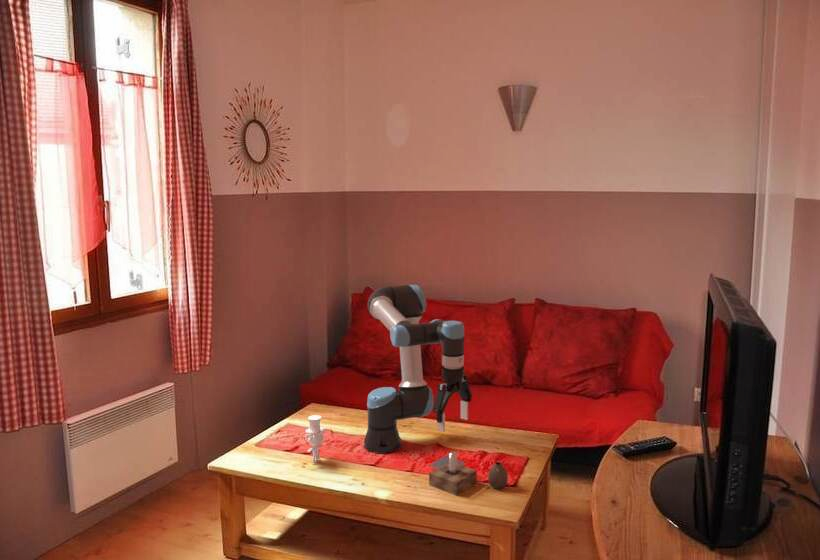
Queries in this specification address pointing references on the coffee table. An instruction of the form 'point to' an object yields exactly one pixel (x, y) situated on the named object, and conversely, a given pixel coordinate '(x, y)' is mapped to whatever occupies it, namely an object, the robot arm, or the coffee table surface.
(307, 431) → the figurine
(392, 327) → the robot arm
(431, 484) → the block
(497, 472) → the vase
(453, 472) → the peg
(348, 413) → the coffee table surface
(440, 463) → the mat
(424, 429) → the coffee table surface
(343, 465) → the coffee table surface
